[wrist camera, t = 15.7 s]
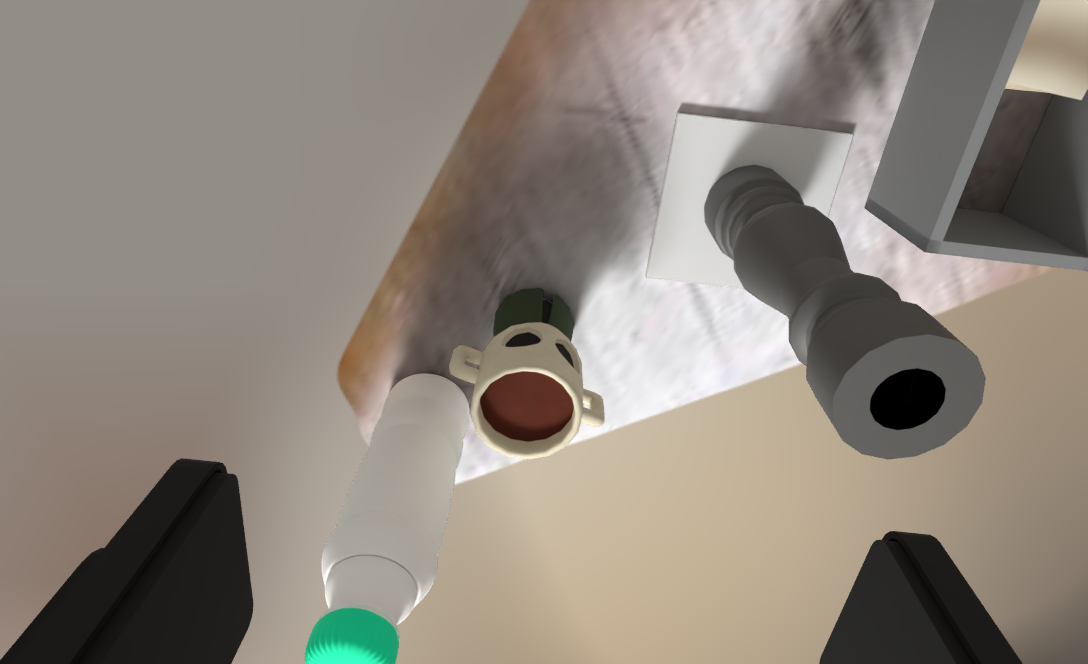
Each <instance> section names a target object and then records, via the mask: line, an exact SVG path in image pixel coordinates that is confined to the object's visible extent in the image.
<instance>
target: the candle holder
mask: <svg viewBox="0 0 1088 664" xmlns="http://www.w3.org/2000/svg"><path fill="white" fill-rule="evenodd" d="M704 218H705V224H706V226H707V228H708V229H709V231H710V233H711V235H712V237H713V239H714V240H715V242H716V244H717V245H718V247H719V249H720V250H721V252H722V253H724V254H725V255H726V256H728V257H729V258H730V259H732V260H733V261H734V271H735V273H736V274H737V276H738V278H739V280H740V282H741V284H742V286H743V287H744V289H745V290H746V291H748V292H749V293H751V294H752V295H753V296H755V297H756V298H757V299H759V300H760V301H762V302H764V303H766V304H767V305H769V306H771V307H773V308H774V309H776V310H778V311H779V312H781V313H783V314H784V315H786V316H787V317H788V319H789V343H790V344H791V346H792V348H793V350H794V352H795V354H796V356H797V358H798V360H799V361H800V362H802V363H803V364H804V365H806V366H807V369H806V370H807V371H806V372H807V375H806V378H807V381H808V383H809V385H810V387H811V389H812V391H813V393H814V394H815V397H816V398H817V400H818V401H819V403H820V405H821V406H822V408H823V410H824V411H825V413H826V414H827V416H828V418H829V419H830V421H831V423H832V424H833V426H834V427H835V429H836V430H837V432H838V434H839V436H840V437H841V439H842V440H843V441H844V442H845V443H847V444H848V445H850V446H851V447H853V448H854V449H856V450H857V451H858V452H860V453H861V454H865V455H869V456H874V457H879V458H884V459H895V458H904V457H913V456H918V455H920V454H922V453H925V452H927V451H930V450H932V449H935V448H937V447H939V446H942V445H944V444H945V443H946V442H948V441H949V440H950V439H952V438H953V437H954V436H955V435H957V433H959V432H960V431H962V430H963V429H964V428H965V427H966V426H967V425H968V424H969V422H970V420H971V419H972V418H973V416H974V414H975V413H976V411H977V410H978V408H979V407H980V405H981V403H982V398H983V392H984V386H985V379H986V378H985V376H984V373H983V370H982V368H981V365H980V362H979V360H978V357H977V356H976V355H975V354H974V353H973V352H972V351H971V350H969V349H968V348H967V347H966V346H965V345H964V344H963V343H962V342H960V341H959V340H958V339H957V338H956V337H955V336H954V335H953V334H952V333H950V332H949V331H948V330H947V329H946V328H945V327H944V326H943V325H941V324H940V323H939V322H938V321H937V320H936V319H935V318H933V317H932V316H931V315H930V314H928V313H927V312H926V311H925V310H923V309H922V308H921V307H920V306H918V305H917V304H913V303H908V302H904V301H901V299H900V297H899V294H898V293H897V292H896V291H895V290H894V289H892V288H891V287H890V286H889V285H887V284H886V283H885V282H884V281H882V280H881V279H880V278H877V277H873V276H869V275H864V274H860V273H854V272H853V271H852V270H851V269H850V266H849V263H848V260H847V257H846V254H845V251H844V248H843V245H842V242H841V239H840V237H839V234H838V232H837V230H836V228H835V225H834V223H833V222H832V221H831V220H830V219H829V218H827V217H826V216H825V215H824V214H822V213H821V212H820V211H819V210H817V209H816V208H815V207H811V206H807V205H804V202H803V200H802V198H801V196H800V194H799V192H798V191H797V190H796V189H795V188H794V187H793V186H792V185H791V184H789V183H788V182H787V181H786V180H785V179H784V178H782V177H781V176H780V175H779V174H777V173H776V172H775V171H774V170H772V169H771V168H767V167H763V166H759V165H749V166H743V167H737V168H735V169H733V170H732V171H730V172H728V173H726V174H725V175H723V176H721V177H720V178H719V180H718V181H717V182H716V183H715V184H714V186H713V187H712V188H711V189H710V190H709V193H708V196H707V199H706V202H705V205H704Z"/></svg>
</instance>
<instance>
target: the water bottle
mask: <svg viewBox="0 0 1088 664" xmlns="http://www.w3.org/2000/svg"><path fill="white" fill-rule="evenodd" d="M469 416H470V409H469V404H468V401H467V398H466V396H465V395H464V393H463V392H462V390H461V389H460V388H459V387H458V386H457V385H456V384H454V383H453V382H452V381H450V380H448V379H446V378H444V377H442V376H439V375H434V374H415V375H411V376H409V377H406V378H404V379H402V380H401V381H399V382H398V383H397V384H396V385H395V386H394V387H393V388H392V390H391V391H390V393H389V395H388V397H387V399H386V402H385V404H384V407H383V410H382V414H381V417H380V419H379V420H378V422H377V424H376V426H375V428H374V431H373V433H372V437H371V440H370V446H369V448H368V450H367V451H366V453H365V455H364V457H363V459H362V461H361V463H360V465H359V467H358V469H357V471H356V474H355V476H354V478H353V481H352V483H351V486H350V488H349V490H348V493H347V495H346V498H345V500H344V503H343V506H342V509H341V511H340V514H339V518H338V521H337V524H336V528H335V529H334V530H333V532H332V533H331V534H330V536H329V538H328V540H327V542H326V544H325V547H324V550H323V554H322V563H321V564H322V575H323V579H324V585H325V598H326V602H327V605H328V607H329V609H328V610H327V611H325V612H324V613H323V614H322V615H321V617H320V619H319V621H318V622H317V623H316V625H315V627H314V628H313V630H312V633H311V635H310V638H309V641H308V644H307V648H306V653H305V662H306V664H395V662H396V658H397V653H398V648H399V647H398V646H399V630H398V626H397V625H398V624H400V623H401V622H402V621H403V620H404V619H405V618H406V617H407V616H408V615H409V614H410V612H411V611H412V609H413V608H414V607H415V606H416V605H417V604H418V603H419V602H420V601H421V600H422V599H423V598H424V596H425V595H426V594H427V593H428V591H429V590H430V588H431V586H432V584H433V582H434V579H435V576H436V573H437V566H438V556H437V554H438V551H439V548H440V545H441V542H442V539H443V535H444V532H445V528H446V524H447V519H448V515H449V510H450V505H451V501H452V495H453V489H454V482H455V473H456V469H457V467H458V464H459V461H460V458H461V454H462V448H463V439H464V436H465V434H466V430H467V427H468V423H469Z"/></svg>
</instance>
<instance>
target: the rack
mask: <svg viewBox="0 0 1088 664" xmlns="http://www.w3.org/2000/svg"><path fill="white" fill-rule="evenodd" d="M1039 3H1040V0H935V3H934V6H933V9H932V12H931V15H930V18H929V21H928V24H927V27H926V29H925V32H924V35H923V38H922V41H921V44H920V47H919V50H918V53H917V56H916V59H915V62H914V65H913V68H912V70H911V73H910V76H909V79H908V82H907V85H906V88H905V91H904V94H903V97H902V100H901V103H900V106H899V109H898V111H897V114H896V117H895V120H894V123H893V126H892V129H891V132H890V135H889V138H888V141H887V144H886V147H885V150H884V153H883V155H882V158H881V161H880V164H879V167H878V170H877V173H876V176H875V179H874V182H873V185H872V188H871V191H870V194H869V196H868V199H867V202H866V205H865V209H866V210H868V211H869V212H870V213H872V214H873V215H875V216H876V217H877V218H879V219H880V220H881V221H883V222H884V223H885V224H887V225H888V226H890V227H891V228H892V229H894V230H895V231H896V232H898V233H899V234H901V235H902V236H903V237H905V238H906V239H907V240H909V241H910V242H911V243H913V244H914V245H916V246H917V247H918V248H920V249H921V250H922V251H924V252H928V253H936V254H945V255H953V256H962V257H971V258H979V259H988V260H997V261H1005V262H1014V263H1023V264H1031V265H1040V266H1049V267H1057V268H1066V269H1076V270H1083V271H1088V90H1087V91H1086V93H1085V95H1084V97H1083V98H1082V100H1078V99H1074V98H1069V97H1065V96H1060V95H1056V94H1054V95H1053V97H1052V99H1051V101H1050V104H1049V106H1048V108H1047V110H1046V113H1045V115H1044V117H1043V120H1042V122H1041V124H1040V126H1039V129H1038V131H1037V133H1036V135H1035V138H1034V140H1033V142H1032V145H1031V147H1030V149H1029V151H1028V154H1027V156H1026V158H1025V160H1024V163H1023V165H1022V167H1021V170H1020V172H1019V174H1018V176H1017V179H1016V181H1015V183H1014V186H1013V188H1012V190H1011V192H1010V195H1009V197H1008V199H1007V201H1006V204H1005V206H1004V208H1003V211H1002V213H997V212H988V211H980V210H971V209H963V208H956V207H957V205H958V202H959V200H960V197H961V195H962V192H963V190H964V188H965V185H966V183H967V180H968V178H969V175H970V173H971V170H972V168H973V165H974V163H975V160H976V158H977V155H978V153H979V151H980V148H981V146H982V143H983V141H984V138H985V136H986V133H987V131H988V128H989V126H990V123H991V121H992V119H993V116H994V114H995V111H996V109H997V106H998V104H999V101H1000V99H1001V96H1002V94H1003V91H1004V89H1005V87H1006V84H1007V82H1008V79H1009V77H1010V74H1011V72H1012V69H1013V67H1014V64H1015V62H1016V59H1017V57H1018V54H1019V52H1020V50H1021V47H1022V45H1023V42H1024V40H1025V37H1026V35H1027V32H1028V30H1029V27H1030V25H1031V22H1032V20H1033V18H1034V15H1035V13H1036V10H1037V8H1038V5H1039Z"/></svg>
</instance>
